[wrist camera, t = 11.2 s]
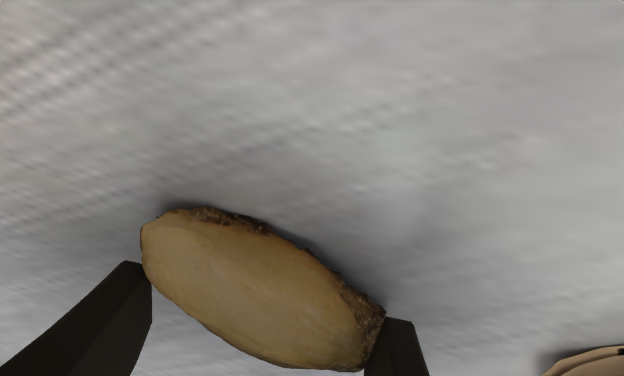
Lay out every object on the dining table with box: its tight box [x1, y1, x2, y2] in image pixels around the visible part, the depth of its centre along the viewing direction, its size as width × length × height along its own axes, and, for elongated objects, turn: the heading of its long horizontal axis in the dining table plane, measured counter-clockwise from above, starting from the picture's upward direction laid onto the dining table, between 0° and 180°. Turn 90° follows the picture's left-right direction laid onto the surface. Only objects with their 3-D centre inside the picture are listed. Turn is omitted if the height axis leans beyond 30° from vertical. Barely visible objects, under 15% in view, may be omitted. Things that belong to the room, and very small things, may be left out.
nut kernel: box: [140, 206, 386, 373], centre depth 12 cm, size 6×5×3 cm
